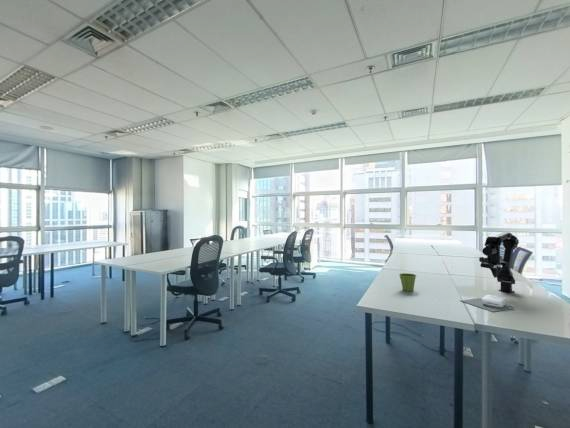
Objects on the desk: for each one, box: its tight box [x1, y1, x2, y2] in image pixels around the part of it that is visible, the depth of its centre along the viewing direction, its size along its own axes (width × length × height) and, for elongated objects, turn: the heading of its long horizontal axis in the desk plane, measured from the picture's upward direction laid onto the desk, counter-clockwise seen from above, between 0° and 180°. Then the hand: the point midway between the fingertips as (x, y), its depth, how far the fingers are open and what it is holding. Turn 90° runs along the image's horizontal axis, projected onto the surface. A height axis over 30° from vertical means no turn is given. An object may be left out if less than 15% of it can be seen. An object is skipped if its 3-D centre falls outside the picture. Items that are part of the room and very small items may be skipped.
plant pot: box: [398, 272, 417, 292], centre depth 191 cm, size 12×12×11 cm
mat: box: [460, 297, 515, 313], centre depth 158 cm, size 16×20×1 cm
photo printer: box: [481, 294, 508, 308], centre depth 156 cm, size 10×4×12 cm
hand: (495, 277), depth 176 cm, fingers closed
